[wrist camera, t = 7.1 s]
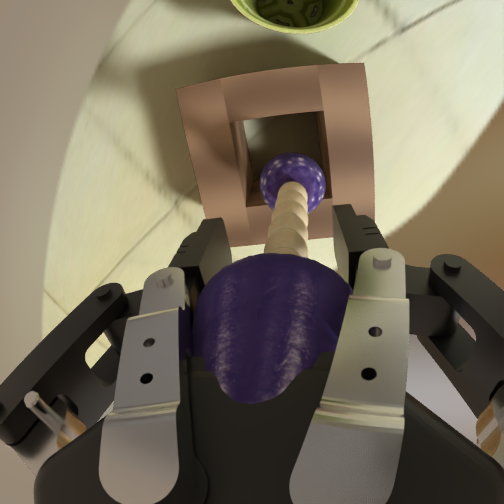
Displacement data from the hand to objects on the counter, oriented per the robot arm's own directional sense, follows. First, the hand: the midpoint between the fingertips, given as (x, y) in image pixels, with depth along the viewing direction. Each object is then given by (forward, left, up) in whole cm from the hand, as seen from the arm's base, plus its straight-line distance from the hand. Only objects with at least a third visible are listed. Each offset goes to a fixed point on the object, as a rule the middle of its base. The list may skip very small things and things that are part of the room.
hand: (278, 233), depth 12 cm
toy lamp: (0, 0, -8) cm, 9 cm away
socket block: (0, 0, -19) cm, 19 cm away
